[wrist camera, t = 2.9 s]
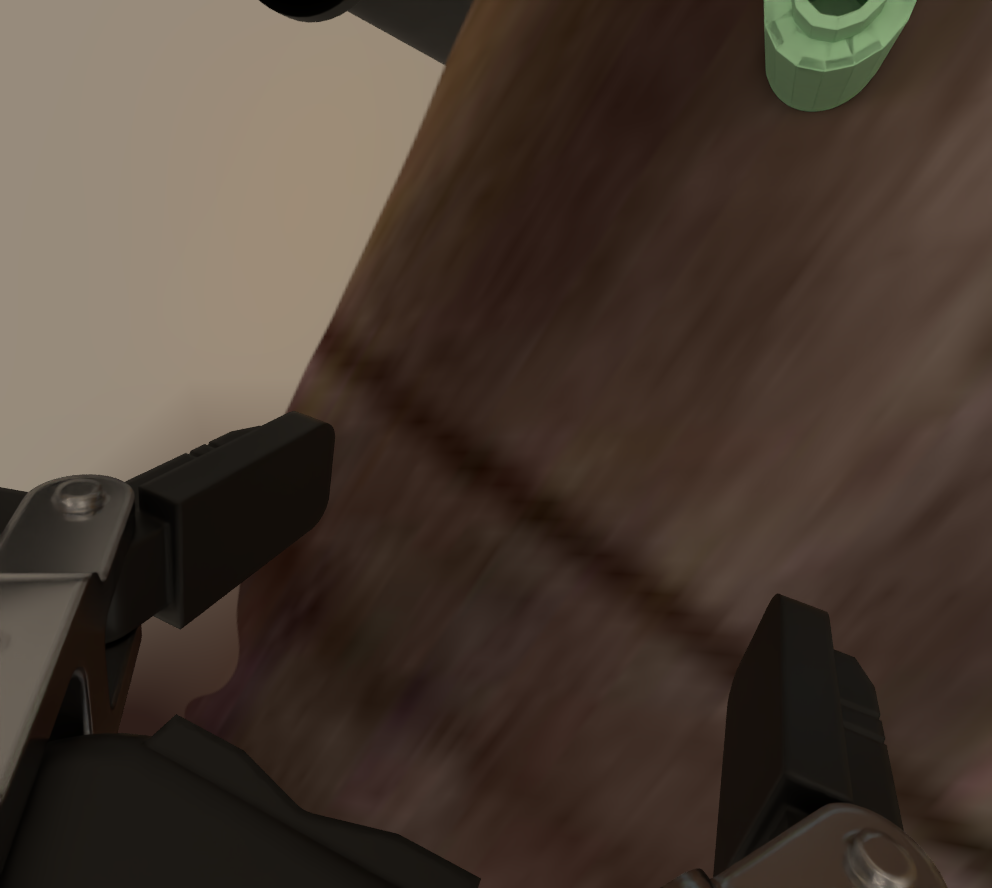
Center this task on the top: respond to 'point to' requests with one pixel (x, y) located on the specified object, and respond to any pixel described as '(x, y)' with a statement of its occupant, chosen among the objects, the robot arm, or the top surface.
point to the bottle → (828, 47)
